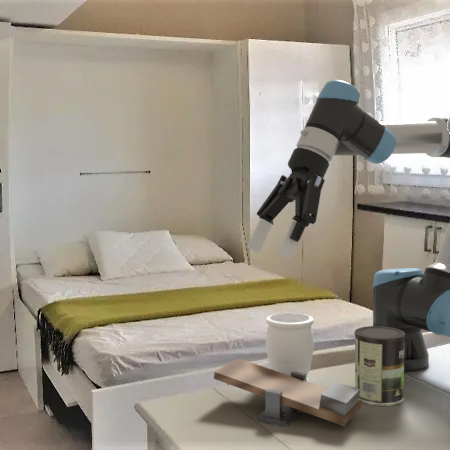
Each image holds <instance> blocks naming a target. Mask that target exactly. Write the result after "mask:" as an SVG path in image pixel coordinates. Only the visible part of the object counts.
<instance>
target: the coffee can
mask: <svg viewBox="0 0 450 450" xmlns="http://www.w3.org/2000/svg"><path fill="white" fill-rule="evenodd" d="M354 339H355V340H354V346H355V347H354V387H355V388H358V389H360V394H359V399H360V400H362V404H365V405H370V406H377V407H391V406H396V405H400V404H401V403H403V401H405V395H404V394H405V393H404V391H405V390H404V389H405V388H404V387H405V384H404V383H405V380H404V379H405V371H404V342H405V333H404V332H403V331H402V330H399V329H396V328H392V327H384V326H373V325H369V326H363V327H358V328H356V329H355V330H354Z"/></svg>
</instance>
